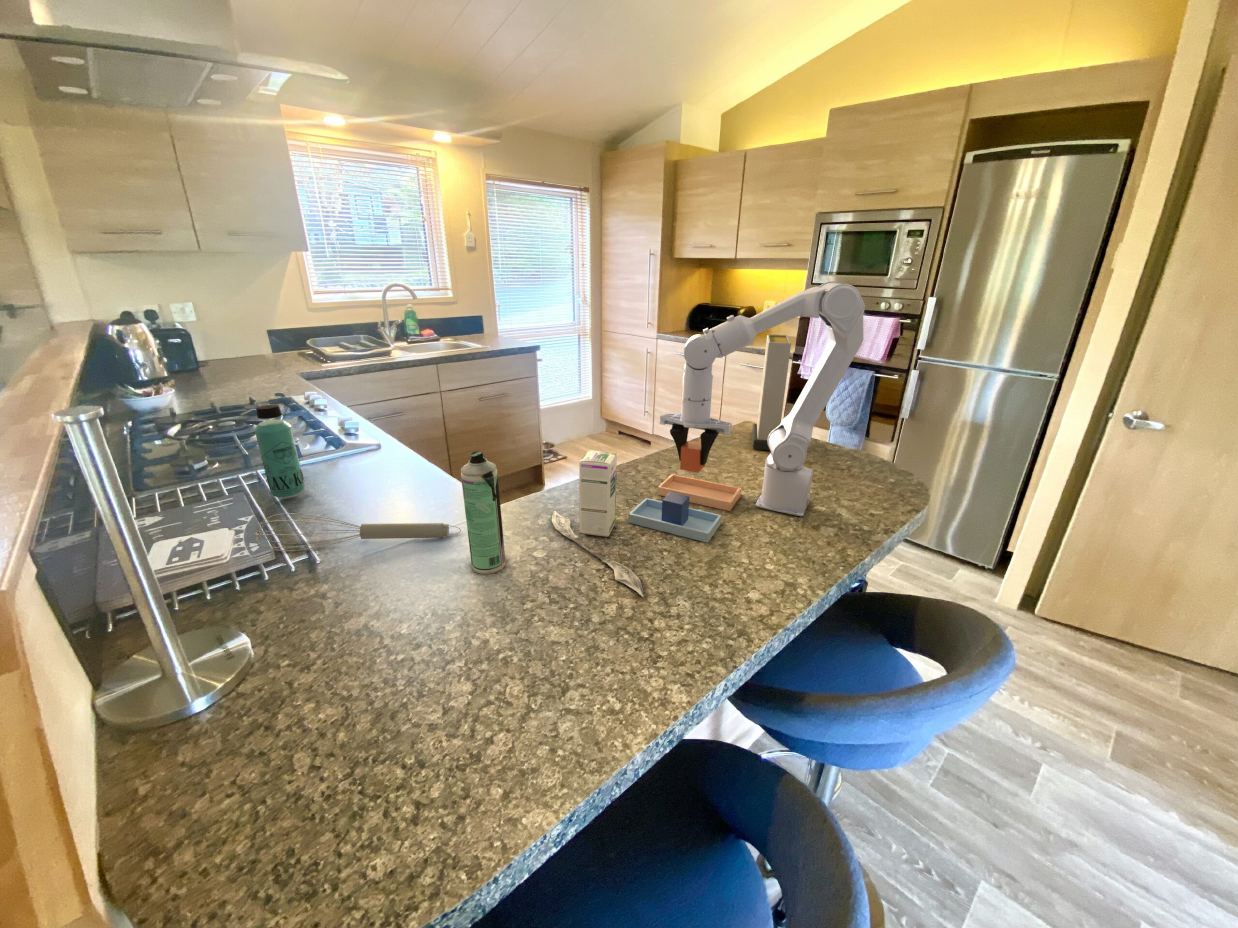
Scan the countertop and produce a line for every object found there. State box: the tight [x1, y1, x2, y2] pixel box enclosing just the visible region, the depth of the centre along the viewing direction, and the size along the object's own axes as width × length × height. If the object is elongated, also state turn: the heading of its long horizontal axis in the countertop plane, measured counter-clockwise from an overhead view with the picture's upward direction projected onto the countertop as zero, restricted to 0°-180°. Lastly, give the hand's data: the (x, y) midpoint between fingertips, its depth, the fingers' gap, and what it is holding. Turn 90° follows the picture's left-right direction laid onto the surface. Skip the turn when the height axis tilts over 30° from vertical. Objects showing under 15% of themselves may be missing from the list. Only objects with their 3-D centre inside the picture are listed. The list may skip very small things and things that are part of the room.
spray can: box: [460, 450, 506, 575], centre depth 82 cm, size 6×6×20 cm
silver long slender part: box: [551, 510, 644, 598], centre depth 90 cm, size 32×1×5 cm
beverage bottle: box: [253, 403, 306, 498], centre depth 105 cm, size 6×7×20 cm
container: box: [752, 334, 792, 452], centre depth 138 cm, size 7×18×30 cm, turn 167°
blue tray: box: [628, 497, 723, 544], centre depth 99 cm, size 16×8×2 cm, turn 62°
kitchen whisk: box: [253, 512, 462, 552], centre depth 91 cm, size 6×34×6 cm, turn 99°
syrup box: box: [578, 450, 618, 538], centre depth 95 cm, size 6×6×14 cm
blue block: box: [661, 492, 690, 526], centre depth 99 cm, size 4×4×5 cm
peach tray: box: [657, 473, 742, 512], centre depth 111 cm, size 16×8×2 cm, turn 62°
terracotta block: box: [679, 440, 706, 474], centre depth 106 cm, size 4×4×5 cm
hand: (692, 461), depth 107 cm, fingers closed on terracotta block, 4 cm apart
